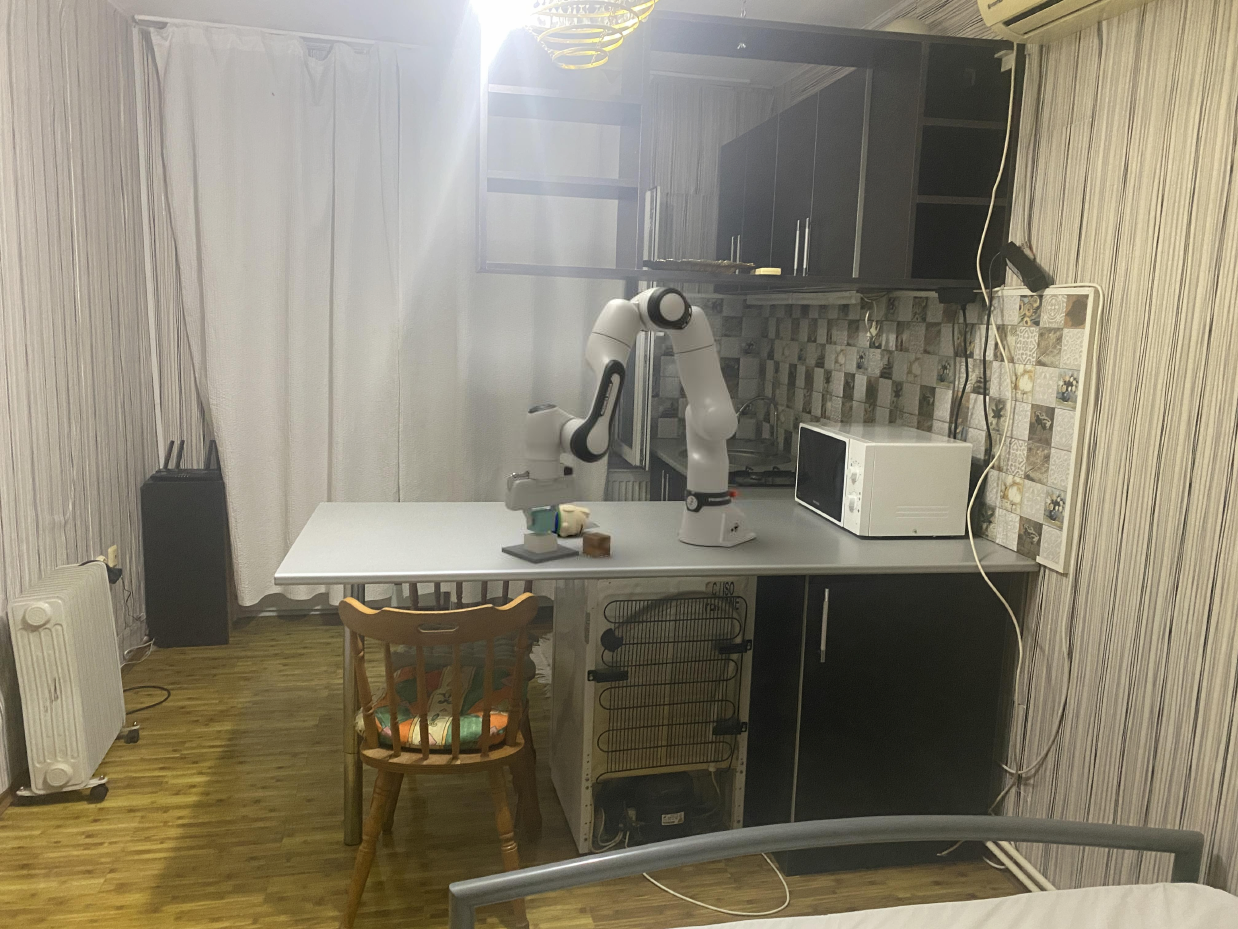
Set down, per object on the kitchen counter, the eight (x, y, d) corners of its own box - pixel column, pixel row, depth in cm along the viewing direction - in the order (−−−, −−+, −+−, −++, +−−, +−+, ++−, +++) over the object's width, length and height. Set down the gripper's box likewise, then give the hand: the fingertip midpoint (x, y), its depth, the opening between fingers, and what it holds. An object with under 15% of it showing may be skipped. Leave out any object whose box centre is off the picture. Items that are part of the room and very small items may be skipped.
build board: (545, 543, 243) (545, 525, 242) (579, 554, 233) (579, 535, 232) (501, 551, 234) (501, 532, 233) (534, 563, 224) (535, 543, 223)
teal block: (542, 526, 236) (542, 507, 235) (554, 530, 232) (554, 511, 231) (526, 529, 233) (527, 510, 232) (538, 533, 229) (539, 513, 228)
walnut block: (597, 551, 238) (597, 532, 237) (610, 555, 234) (610, 536, 233) (582, 554, 234) (582, 534, 234) (595, 558, 231) (595, 538, 230)
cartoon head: (599, 544, 255) (528, 545, 249) (592, 520, 262) (523, 520, 256) (605, 521, 250) (532, 521, 244) (598, 498, 257) (527, 497, 251)
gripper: (515, 475, 221) (514, 531, 223) (580, 467, 234) (579, 521, 237) (500, 471, 225) (499, 526, 228) (565, 464, 239) (564, 516, 241)
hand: (540, 523), depth 232 cm, fingers closed on teal block, 5 cm apart
